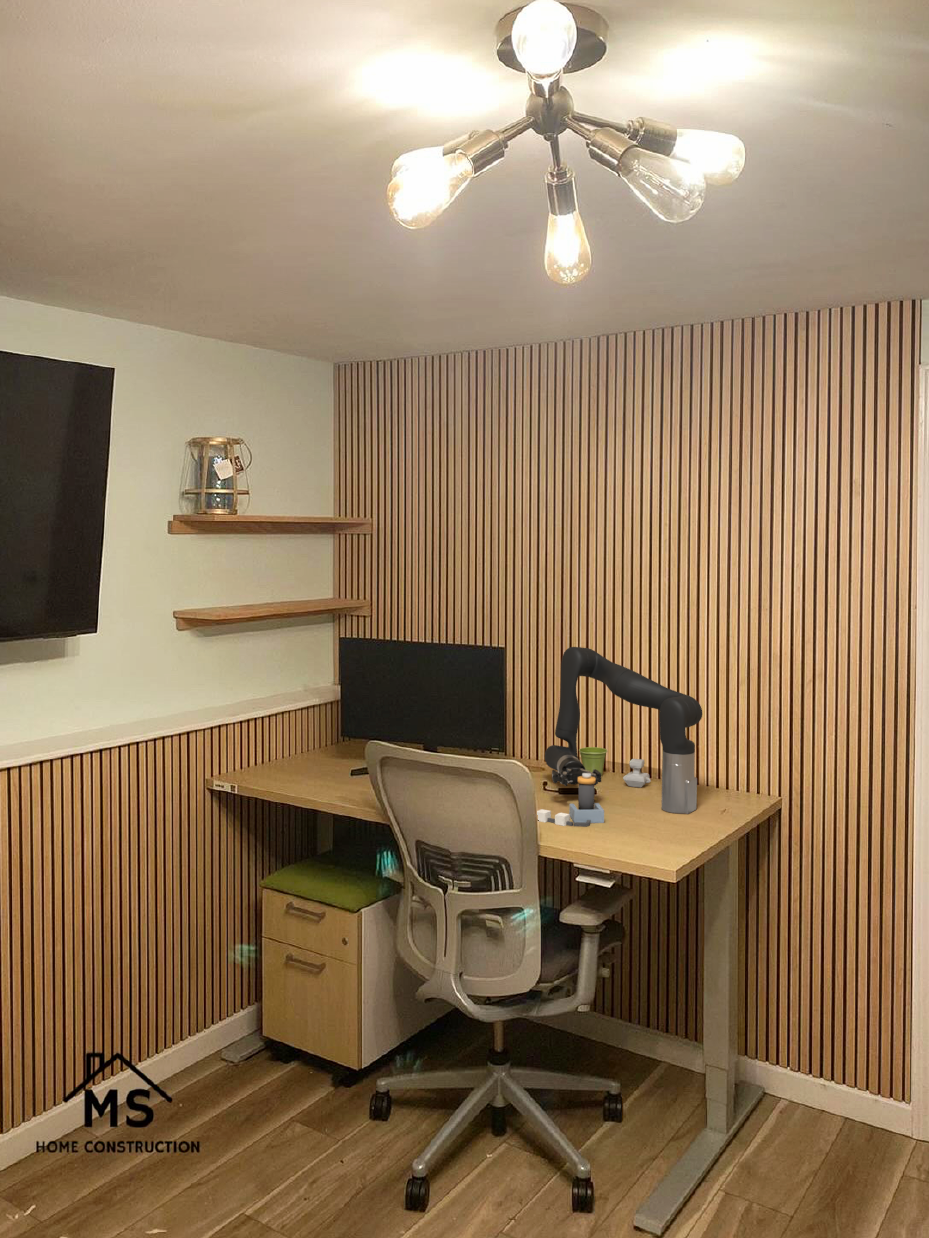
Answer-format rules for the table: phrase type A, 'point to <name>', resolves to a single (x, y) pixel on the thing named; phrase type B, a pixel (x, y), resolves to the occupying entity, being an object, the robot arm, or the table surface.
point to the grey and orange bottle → (586, 791)
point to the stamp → (636, 774)
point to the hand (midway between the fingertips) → (580, 782)
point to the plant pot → (593, 758)
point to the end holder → (587, 814)
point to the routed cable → (559, 819)
